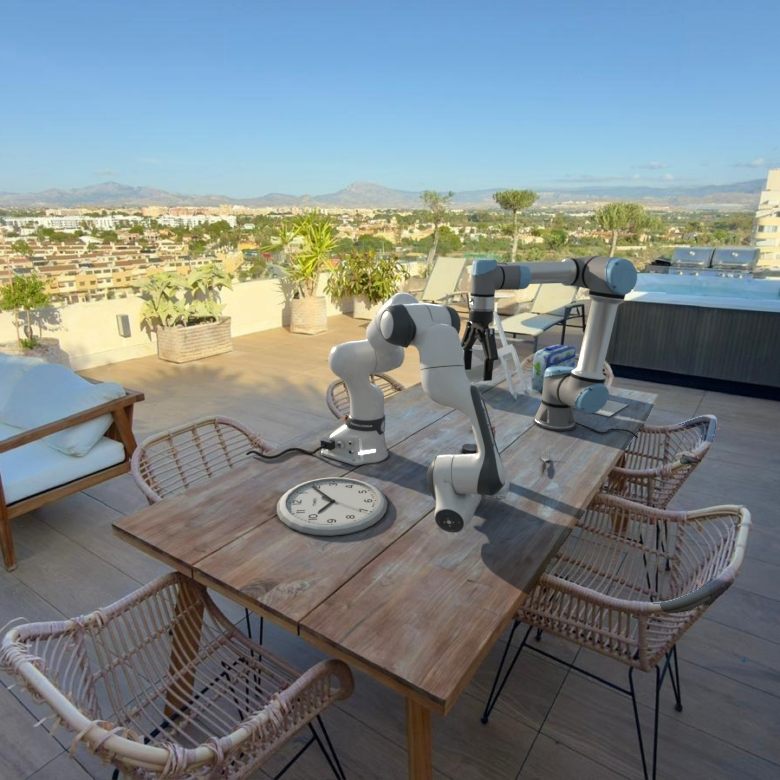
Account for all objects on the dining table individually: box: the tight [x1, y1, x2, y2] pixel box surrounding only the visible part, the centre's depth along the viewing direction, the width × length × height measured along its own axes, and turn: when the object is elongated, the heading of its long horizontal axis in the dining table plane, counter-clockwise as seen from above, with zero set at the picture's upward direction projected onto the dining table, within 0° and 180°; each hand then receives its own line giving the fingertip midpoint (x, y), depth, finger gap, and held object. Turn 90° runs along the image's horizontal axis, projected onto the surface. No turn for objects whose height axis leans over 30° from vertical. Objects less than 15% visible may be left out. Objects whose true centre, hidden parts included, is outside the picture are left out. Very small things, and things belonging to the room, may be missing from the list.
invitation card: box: [594, 399, 629, 418], centre depth 226 cm, size 21×1×15 cm
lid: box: [461, 443, 477, 454], centre depth 178 cm, size 6×6×2 cm
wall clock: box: [276, 476, 388, 537], centre depth 142 cm, size 30×2×30 cm
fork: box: [541, 449, 551, 474], centre depth 169 cm, size 3×16×2 cm, turn 160°
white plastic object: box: [460, 310, 531, 400], centre depth 245 cm, size 37×45×31 cm
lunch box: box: [530, 344, 577, 392], centre depth 247 cm, size 26×11×21 cm, turn 134°
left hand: (477, 470), depth 149 cm, fingers open, 8 cm apart
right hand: (476, 374), depth 170 cm, fingers open, 13 cm apart
